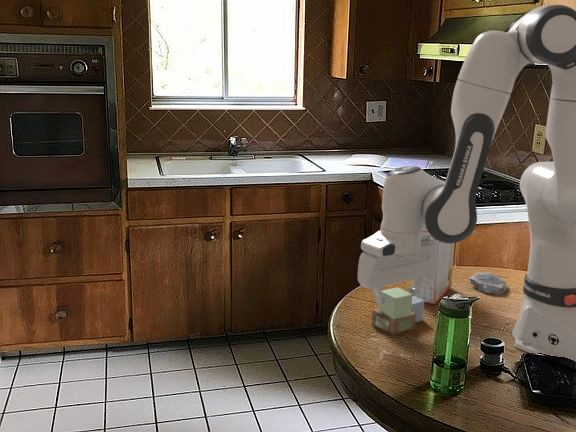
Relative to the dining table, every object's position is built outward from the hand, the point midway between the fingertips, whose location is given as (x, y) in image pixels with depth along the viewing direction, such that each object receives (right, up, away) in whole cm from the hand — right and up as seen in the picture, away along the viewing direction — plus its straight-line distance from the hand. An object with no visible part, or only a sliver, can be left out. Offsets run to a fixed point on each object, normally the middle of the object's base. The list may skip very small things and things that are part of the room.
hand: (396, 299), depth 146 cm
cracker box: (+13, -2, +23) cm, 27 cm away
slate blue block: (+4, -6, +8) cm, 11 cm away
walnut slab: (0, -7, +4) cm, 8 cm away
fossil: (+29, -1, +30) cm, 42 cm away
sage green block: (0, -3, +2) cm, 4 cm away
